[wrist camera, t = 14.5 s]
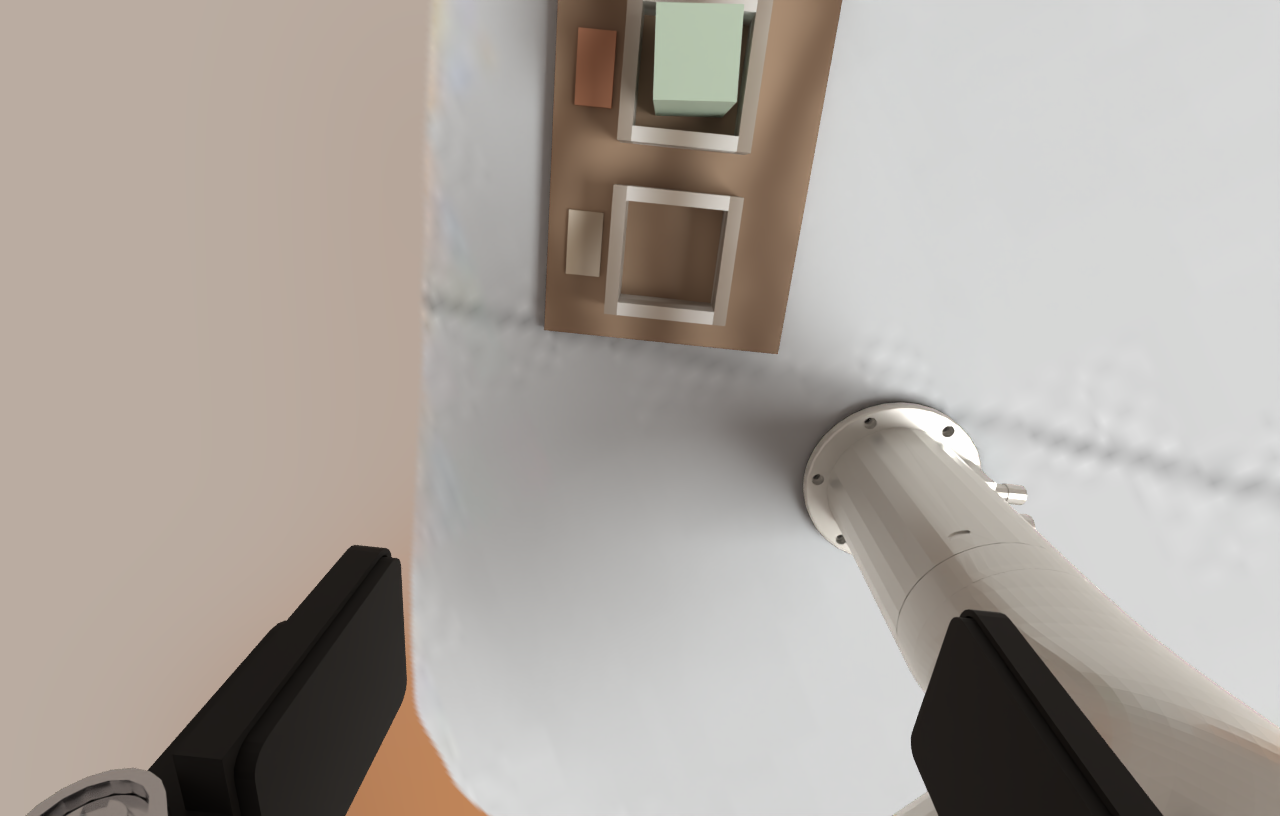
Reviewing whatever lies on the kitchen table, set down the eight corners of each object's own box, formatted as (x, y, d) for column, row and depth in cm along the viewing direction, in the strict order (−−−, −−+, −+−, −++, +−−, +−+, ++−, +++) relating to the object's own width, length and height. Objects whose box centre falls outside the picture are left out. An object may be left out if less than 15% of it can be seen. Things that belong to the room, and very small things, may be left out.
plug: (727, 41, 35) (744, 3, 28) (722, 117, 37) (736, 101, 29) (658, 39, 35) (656, 1, 28) (655, 115, 37) (652, 99, 29)
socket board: (842, -23, 35) (863, -47, 31) (775, 350, 43) (785, 366, 39) (562, -51, 35) (550, -79, 31) (547, 326, 43) (535, 340, 39)
